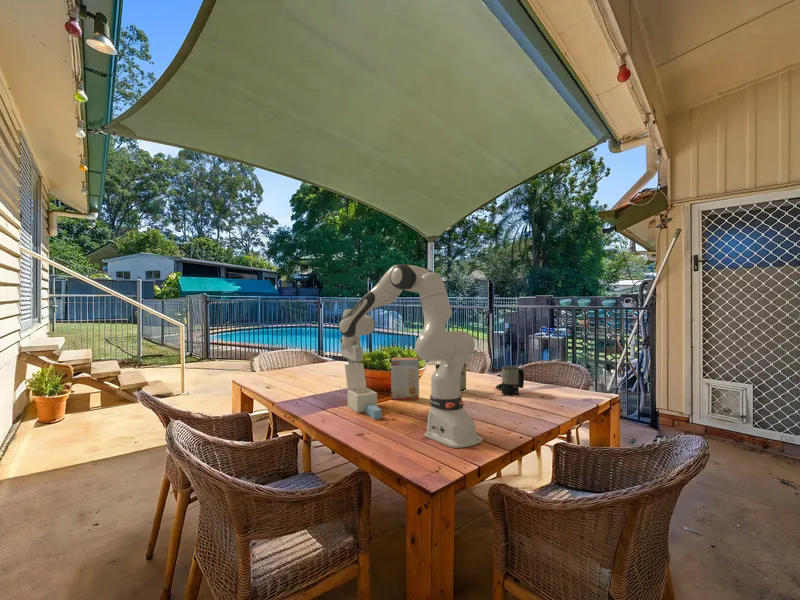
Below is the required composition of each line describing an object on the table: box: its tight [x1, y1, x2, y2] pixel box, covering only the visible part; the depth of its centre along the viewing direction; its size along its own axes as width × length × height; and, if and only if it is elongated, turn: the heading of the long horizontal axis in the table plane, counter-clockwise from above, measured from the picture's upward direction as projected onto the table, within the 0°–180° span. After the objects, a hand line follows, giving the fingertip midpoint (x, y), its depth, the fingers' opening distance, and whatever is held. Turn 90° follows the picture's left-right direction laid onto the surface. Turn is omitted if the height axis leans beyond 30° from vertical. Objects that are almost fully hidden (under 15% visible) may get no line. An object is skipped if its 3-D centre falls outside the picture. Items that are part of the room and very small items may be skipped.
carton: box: [347, 387, 378, 414], centre depth 178 cm, size 12×10×8 cm
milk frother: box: [495, 364, 525, 397], centre depth 207 cm, size 14×16×15 cm
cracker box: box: [390, 357, 420, 401], centre depth 195 cm, size 14×6×21 cm, turn 84°
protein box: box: [435, 362, 467, 393], centre depth 208 cm, size 10×16×16 cm
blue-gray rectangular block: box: [364, 404, 382, 421], centre depth 167 cm, size 10×4×4 cm, turn 27°
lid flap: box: [344, 362, 367, 390], centre depth 185 cm, size 12×10×1 cm
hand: (351, 368), depth 190 cm, fingers closed
